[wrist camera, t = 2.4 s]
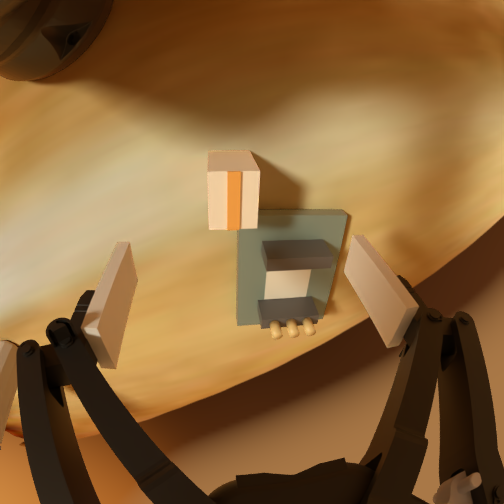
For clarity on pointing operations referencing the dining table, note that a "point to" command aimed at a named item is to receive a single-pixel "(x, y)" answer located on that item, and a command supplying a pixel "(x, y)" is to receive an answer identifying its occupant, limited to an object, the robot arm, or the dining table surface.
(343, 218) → the header board
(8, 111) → the dining table surface
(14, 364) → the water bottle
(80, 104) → the dining table surface
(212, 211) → the plug
